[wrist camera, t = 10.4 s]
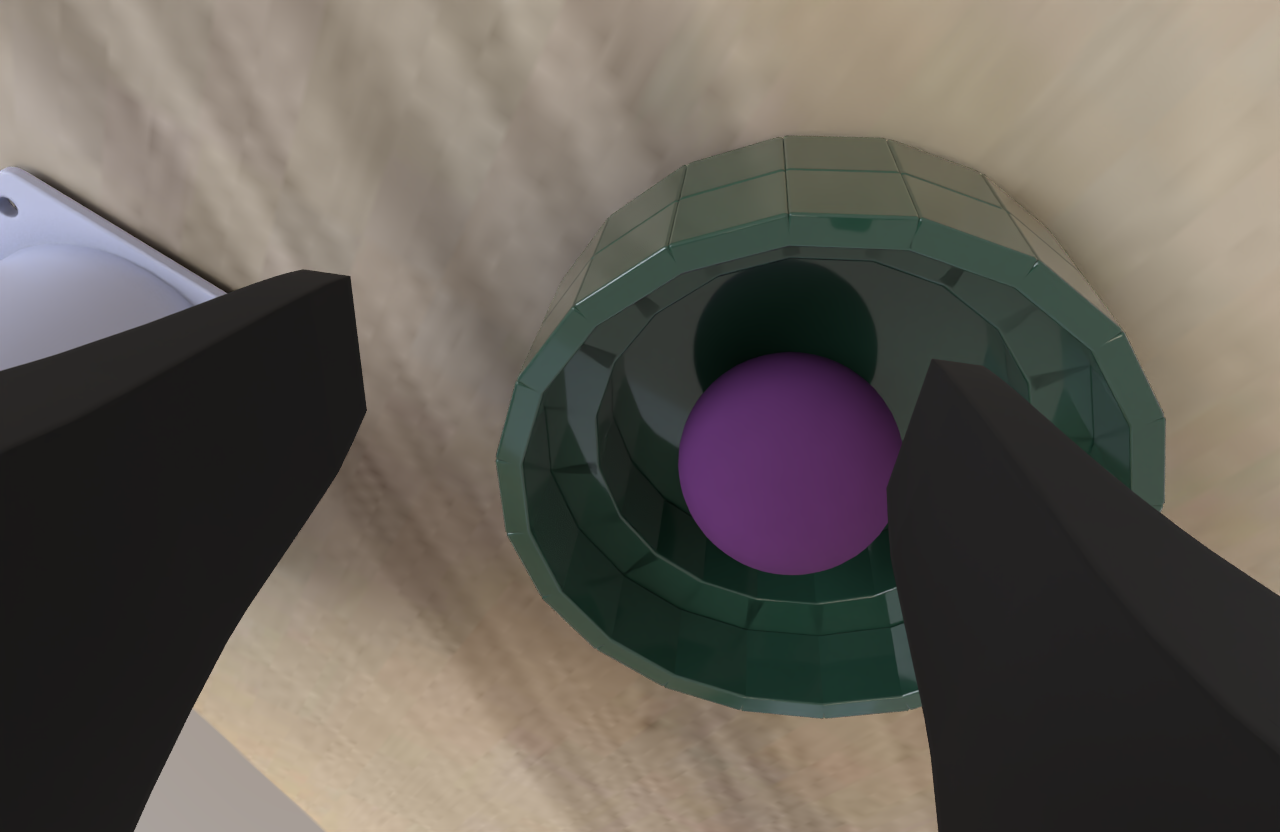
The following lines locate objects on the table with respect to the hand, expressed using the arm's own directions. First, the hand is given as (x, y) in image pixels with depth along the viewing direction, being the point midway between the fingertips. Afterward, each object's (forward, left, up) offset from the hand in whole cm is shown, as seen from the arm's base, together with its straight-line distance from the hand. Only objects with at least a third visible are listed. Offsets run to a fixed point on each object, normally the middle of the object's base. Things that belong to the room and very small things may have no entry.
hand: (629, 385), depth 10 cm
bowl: (-3, -6, -9) cm, 12 cm away
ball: (-3, -6, -6) cm, 9 cm away
